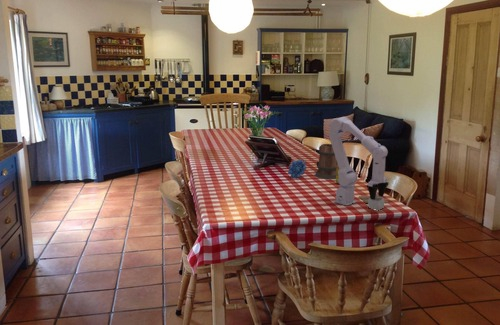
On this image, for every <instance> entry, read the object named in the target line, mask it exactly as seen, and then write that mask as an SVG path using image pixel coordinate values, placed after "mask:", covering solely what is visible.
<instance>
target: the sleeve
mask: <svg viewBox="0 0 500 325" xmlns="http://www.w3.org/2000/svg"><path fill="white" fill-rule="evenodd" d="M383 198H384V197H383ZM383 198H379V197H375V200H372V199H370V198H369V199H368V204H367V208H368V207H369V208H372V209H376V210H379V211H381V210H380V209H382V208H384V209H385V204H384V200H386V199H385V198H384V199H383ZM372 209H371V210H372ZM376 210H375V211H376ZM382 210H383V209H382Z"/></svg>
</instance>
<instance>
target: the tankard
mask: <svg viewBox="0 0 500 325" xmlns="http://www.w3.org/2000/svg"><path fill="white" fill-rule="evenodd" d="M318 154H319V155H318V160H317V161H316V168H317V171H316V172H315V174H314V177H315V178H317V179H322V180H336V171H337V165H338V163H337V160H336V157H335V154H334V150H333V147H332V144H331V143H322V144H320V146H319V147H318Z"/></svg>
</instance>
